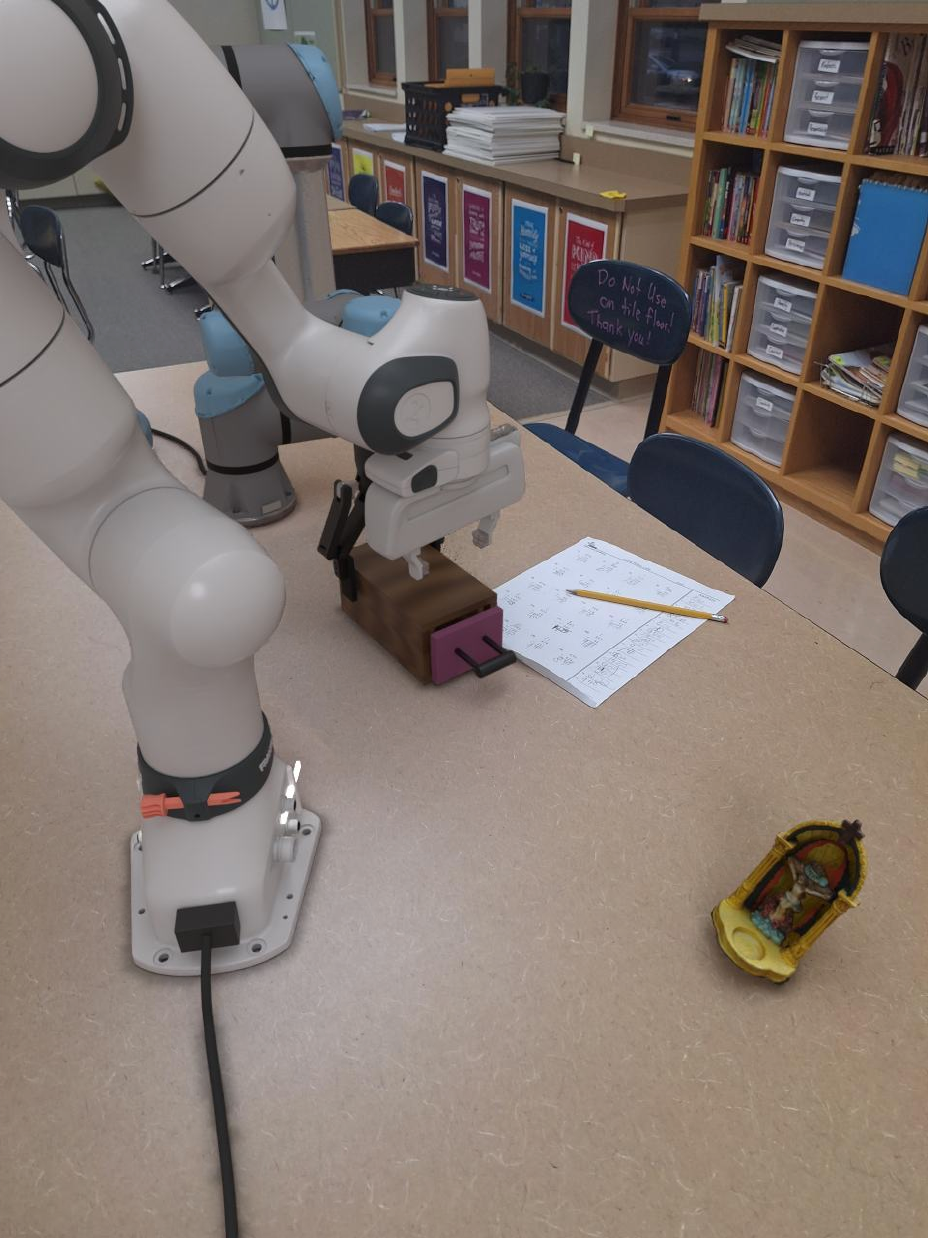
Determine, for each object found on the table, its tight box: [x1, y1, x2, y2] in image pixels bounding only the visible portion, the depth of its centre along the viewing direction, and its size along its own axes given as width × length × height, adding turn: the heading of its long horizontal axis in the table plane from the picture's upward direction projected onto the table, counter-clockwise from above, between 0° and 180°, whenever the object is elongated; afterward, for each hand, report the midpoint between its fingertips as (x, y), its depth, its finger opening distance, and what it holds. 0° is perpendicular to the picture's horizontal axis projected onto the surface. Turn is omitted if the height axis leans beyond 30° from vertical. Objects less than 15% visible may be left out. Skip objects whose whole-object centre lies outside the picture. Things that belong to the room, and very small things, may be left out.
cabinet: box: [338, 542, 498, 686], centre depth 113 cm, size 20×11×9 cm, turn 36°
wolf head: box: [136, 407, 154, 448], centre depth 158 cm, size 6×9×10 cm
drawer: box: [429, 605, 518, 686], centre depth 110 cm, size 25×10×7 cm, turn 36°
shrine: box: [710, 818, 868, 986], centre depth 72 cm, size 12×8×15 cm
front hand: (451, 560), depth 97 cm, fingers open, 8 cm apart
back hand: (392, 580), depth 117 cm, fingers open, 13 cm apart
